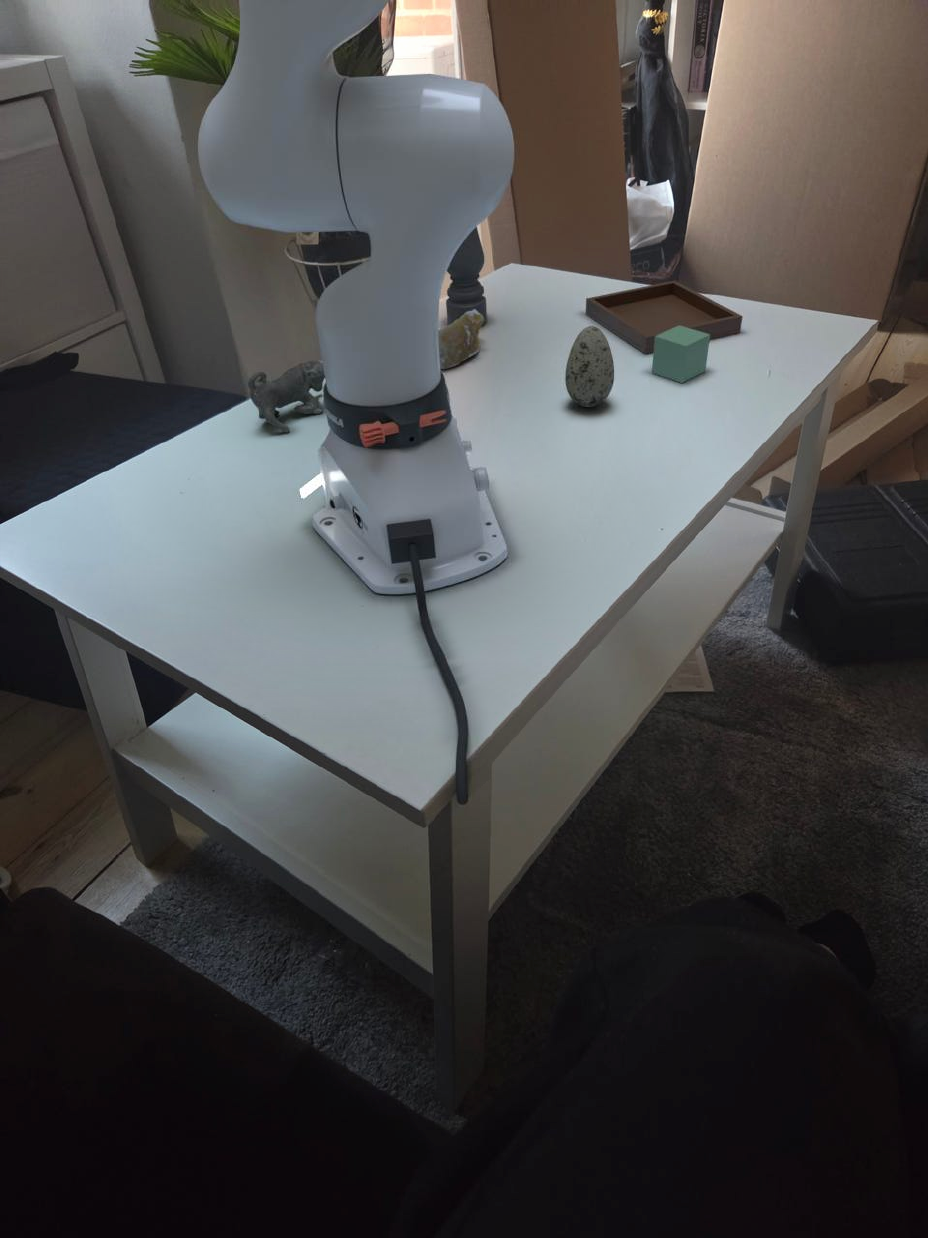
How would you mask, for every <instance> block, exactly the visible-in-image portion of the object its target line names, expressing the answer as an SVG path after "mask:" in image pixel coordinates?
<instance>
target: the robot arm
mask: <svg viewBox="0 0 928 1238" xmlns="http://www.w3.org/2000/svg"><path fill="white" fill-rule="evenodd" d="M389 1H390V0H238V7H239V38H238V45H237V51H236V55H235V59H234V62H233V65H232V68H231V71H230V73H229V75H228V77H227V79H226V81H225V83H224V84H223V86H222V87H221V88H220V89H219V92H218V93H217V94H216V95H215V96H214V97H213V98H212V100H211V101H210V103H209V104H208V106H207V108H206V110H205V111H204V115H203V117H202V119H201V122H200V125H199V126H200V127H199V130H198V138H197V157H198V165H199V169H200V173H201V177H202V179H203V183H204V185H205V187H206V190H207V191H208V193H209V195H210V197H211V198H212V200H213V201H214V203H215V204H216V205H217V207H218V208H219V209H220V211H221V212H222V213H223V214H224V215H225V216H226V217H227V218H228V219H229V220H230V221H232V222H234V223H236V224H241V225H244V226H249V227H253V228H254V227H255V228H258V229H263V230H270V231H275V232H280V233H286V234H287V233H288V234H290V233H291V234H292V233H293V234H294V233H325V232H326V233H330V232H360V233H366V234H368V237H369V242H370V257H369V258H368V259H366V260H365V261H363V262H362V263H360V264H358V265H356V266H355V267H352V269H350V270H348V271H346V272H345V273H343V274H341V275H340V276H339V277H337V278H336V279H334V280H333V281H332V282H330V284H329V285H328V286H326V288H324V290H323V292H322V293H321V295H320V297H319V299H318V300H317V304H316V308H315V315H314V323H315V328H316V334H317V339H318V340H317V341H318V345H319V351H320V356H321V357H320V358H321V362H322V363H323V369H324V375H325V379H324V380H325V383H324V384H323V388H322V396H323V402H322V404H323V410H324V412H325V415H326V420H327V425H328V427H329V430H328V434H327V435H326V438H325V439H324V440H323V442H322V443H321V445H320V447H319V448H318V449H317V450H318V451H317V454H318V455H317V456H318V462H319V469H320V474H318V475H316V476H315V477H314V478H313V479H312V480H310V481H309V482H308V483H306V484H305V485H304V486H303V487H301V488H300V489H299V492H300V496H301V499H302V498H303V499H305V498H307V496H308V495H310V494H312V493H313V492H314V491H315V490H316V489H318V488H319V487H320V486H321V485H322V490H323V496H324V504H325V505H324V506H323V507H322V508H321V509H319V510H318V511H317V512H316V513H314V515H313V516H312V527H313V529H314V530H315V532H316V533H318V534H319V536H320V537H321V538H322V539H323V540H324V541H325V542H326V543H327V544H328V545H329V546H330V548H331V549H333V550H334V552H335V553H336V554H337V555H338V556H339V557H340V558H341V559H342V560H343V561H344V562H345V563H346V564H347V565H348V567H349V568H350V569H351V570H352V571H353V572H354V573H355V574H356V575H357V576H358V577H359V579H361V581H362V582H363V583H365V585H366V586H367V587H368V588H369V589H370V590H371V591H372V592H374V593H376V594H381V595H382V594H383V595H407V594H414V593H415V596H416V604H417V609H418V615H419V616H418V617H419V620H420V623H421V627H422V630H423V631H422V632H423V633H424V637H425V639H426V642H427V644H428V646H429V648H430V650H431V652H432V654H433V657H434V658H435V660H436V663H437V665H438V668H439V671H440V672H441V675H442V677H443V679H444V682H445V684H446V686H447V688H448V691H449V693H450V696H451V699H452V703H453V705H454V709H455V714H456V719H457V743H456V755H455V783H456V784H455V786H456V787H455V788H456V798H457V803H458V804H459V805H461V806H464V805H466V804H468V802H469V793H468V779H467V757H468V755H467V753H468V741H469V723H468V722H469V721H468V714H467V710H466V705H465V701H464V698H463V695H462V692H461V690H460V687H459V685H458V683H457V681H456V679H455V676H454V674H453V671H452V670H451V667H450V665H449V663H448V659H447V658H446V656H445V654H444V652H443V649H442V648H441V645H440V644H439V641H438V639H437V637H436V635H435V633H434V630H433V626H432V623H431V620H430V616H429V610H428V605H427V599H426V592H427V591H432V590H437V589H441V588H444V587H447V586H451V585H455V584H457V583H462V582H464V581H467V580H470V579H473V578H475V577H477V576H481V575H483V574H485V573H487V572H489V571H490V570H492V569H494V568H496V567H497V566H498V565H500V564H501V563H502V562H504V560H506V559H507V558H508V556H509V553H508V547H507V543H506V540H505V538H504V536H503V533H502V530H501V528H500V525H499V522H498V520H497V517H496V515H495V512H494V509H493V507H492V504H491V502H490V500H489V496H488V494H487V492H486V491H488V490H489V489H490V479H489V473H488V470H487V468H486V467H484V466H481V467H475V468H473V467H472V466H471V465H470V462H469V459H468V456H467V455H472V454H473V446H472V441H471V440H462V437H461V435H460V432H459V428H458V419H457V417H456V416H453V414H452V409H451V402H450V401H451V399H450V393H449V388H448V386H447V383H446V377H445V374H444V373H443V371H442V369H440V359H439V334H438V330H439V315H440V313H439V312H440V310H439V309H440V298H441V297H440V296H441V293H442V288H443V283H444V280H445V277H446V275H447V273H448V272H447V269H448V267H449V264H450V262H451V260H452V258H453V256H454V255H455V253H456V251H457V250H458V248H459V247H460V245H461V244H462V242H463V241H464V240H465V239H466V237H467V236H468V235H469V234H470V233H471V232H472V231H473V230H474V229H475V228H476V227H477V228H478V225H480V224H481V223H483V222H484V221H485V220H486V219H487V218H488V217H490V215H492V214H493V212H494V211H495V210H496V209H497V208H498V206H499V205H500V203H501V202H502V200H503V198H504V197H505V194H506V192H507V190H508V188H509V185H510V182H511V179H512V175H513V170H514V163H515V140H514V133H513V129H512V126H511V122H510V120H509V116H508V114H507V112H506V110H505V108H504V106H503V104H502V103H501V101H500V99H499V98H498V96H497V95H496V94H495V93H494V91H493V90H492V89H491V88H490V87H489V86H488V85H487V84H486V83H482V82H477V81H473V80H468V79H463V78H458V77H452V76H446V75H440V74H435V73H414V74H395V75H376V76H375V75H374V76H356V77H350V76H347V75H346V76H345V75H341V74H339V73H338V71H337V68H336V65H335V61H334V51H335V50H337V49H338V48H339V47H340V46H342V45H344V43H346V42H348V41H349V40H351V39H352V38H353V37H355V36H356V35H359V34H360V33H361V32H362V31H363V30H365V29H366V28H367V27H368V26H369V25H370V24H371V23H373V22H374V21H375V19H377V18H378V16H379V15H380V14H381V13H382V12H383V11H384V10H385V9H386V6H387V5H388V3H389Z"/></svg>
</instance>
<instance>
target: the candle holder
mask: <svg viewBox="0 0 928 1238" xmlns="http://www.w3.org/2000/svg"><path fill="white" fill-rule="evenodd" d="M484 266H485V253H484V249H483V245H482V242H481V238H480V234H479V230H478V226H477V227H476V228H475V229H474V230H473V231H472V232H471V233H470V234H469V235H468V236H467V237H466V239H465V240H464V241H463V242H462V244H461V245H460V247H459V248H458V250H457V251H456V253H455V255H454V256H453V258H452V260H451V262H450V264H449V267H448V269H447V272H446V273H447V274H449V279H450V280H451V283H450V284H449V286H448V288H447V289H446V296H447V297H448V298H447V299H446V300H445V305H446V319H447V321H446V323H447V326H448V325H450V324H452V323H453V322H454V321H455V320H457V319H459V318H460V317H461V316H463V315H464V314H465V313H466V312H468V311H472V310H474V309H475V310H477V312H479V313H480V314H481V315H482V316H483V318H484V321H483V323H482V325H481V327H483V326H485V325H486V324H488V312H487V311H488V309H487V298H486V297H485V295H484V294H485V287H484V286H483V285H482V283H481V281H480V280H479V278H480V277H481V276H480V273H481V271H482V269H483V267H484Z"/></svg>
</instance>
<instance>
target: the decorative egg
mask: <svg viewBox="0 0 928 1238" xmlns="http://www.w3.org/2000/svg"><path fill="white" fill-rule="evenodd" d="M613 357H614V356H613V353H612V349H611V346H610V343H609V341H608V338H607V337H606V335H605V333H603V331H602V330H601V329H600V328H599V327H597V326H595V325H588V326H586V327H584V328H583V329H582V330H581V331H580V332H579V333H578V334H577V337H576V338H575V340H574V342H573V343H572V346H571V348H570V352H569V354H568V358H567V362H566V365H565V375H564V380H565V381H564V382H565V387H566V391H567V393H568V395H569V397H570V398H571V400H572V401H573V402H574V403H575V404H576V405H579V406H581V407H584V408H593V407H597V406H598V405H600V404H602V403H603V402H604V401H605V400H606V399H607V398H608V397H609V395H610V394H611V392H612V390H613V386H614V381H615V362H614V358H613Z"/></svg>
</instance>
